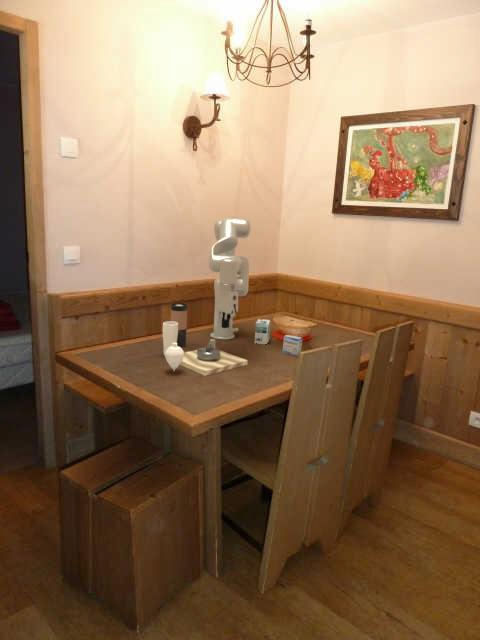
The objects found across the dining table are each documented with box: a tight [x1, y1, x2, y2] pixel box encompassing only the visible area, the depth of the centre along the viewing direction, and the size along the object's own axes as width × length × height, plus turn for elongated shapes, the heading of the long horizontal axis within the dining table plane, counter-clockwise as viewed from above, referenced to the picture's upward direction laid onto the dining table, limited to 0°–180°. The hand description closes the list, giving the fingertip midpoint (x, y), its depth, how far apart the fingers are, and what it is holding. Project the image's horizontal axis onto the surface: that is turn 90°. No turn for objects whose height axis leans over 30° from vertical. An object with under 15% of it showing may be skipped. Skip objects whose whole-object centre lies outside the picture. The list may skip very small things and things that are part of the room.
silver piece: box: [196, 338, 221, 361], centre depth 204 cm, size 19×10×5 cm, turn 176°
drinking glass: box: [162, 320, 178, 357], centre depth 205 cm, size 7×7×15 cm
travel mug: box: [170, 302, 188, 348], centre depth 221 cm, size 8×8×20 cm
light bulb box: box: [254, 318, 271, 345], centre depth 238 cm, size 11×7×11 cm, turn 171°
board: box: [179, 349, 248, 377], centre depth 200 cm, size 24×24×2 cm
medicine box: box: [282, 334, 303, 357], centre depth 219 cm, size 8×4×9 cm, turn 62°
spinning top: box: [164, 343, 185, 372], centre depth 185 cm, size 8×8×12 cm
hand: (225, 327), depth 206 cm, fingers closed
